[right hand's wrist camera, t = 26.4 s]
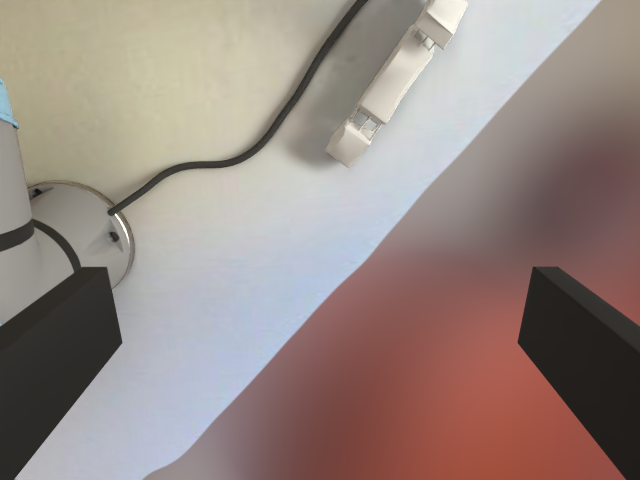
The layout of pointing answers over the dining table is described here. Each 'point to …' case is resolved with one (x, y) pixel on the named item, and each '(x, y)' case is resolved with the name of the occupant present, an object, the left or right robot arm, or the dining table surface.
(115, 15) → the dining table surface
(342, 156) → the white segmented figure
